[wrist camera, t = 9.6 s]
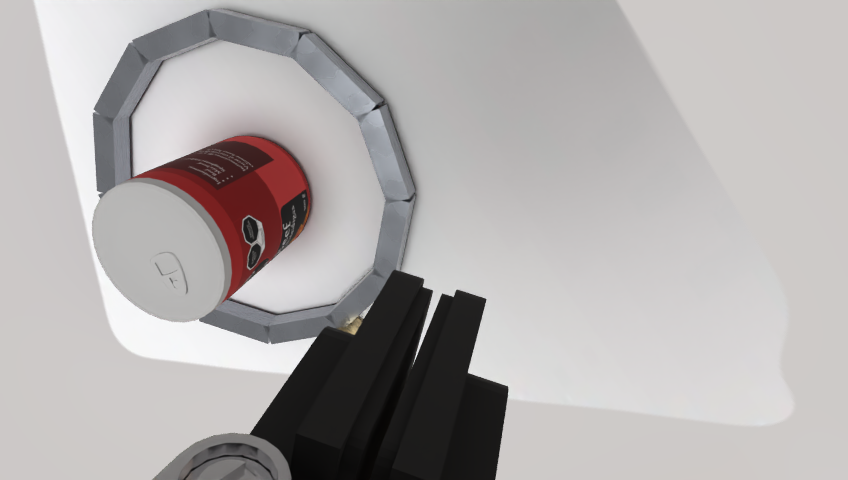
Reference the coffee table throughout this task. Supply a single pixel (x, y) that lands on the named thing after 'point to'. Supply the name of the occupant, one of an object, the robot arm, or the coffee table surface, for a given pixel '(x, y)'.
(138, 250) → the canned food
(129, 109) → the ring
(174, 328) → the coffee table surface
